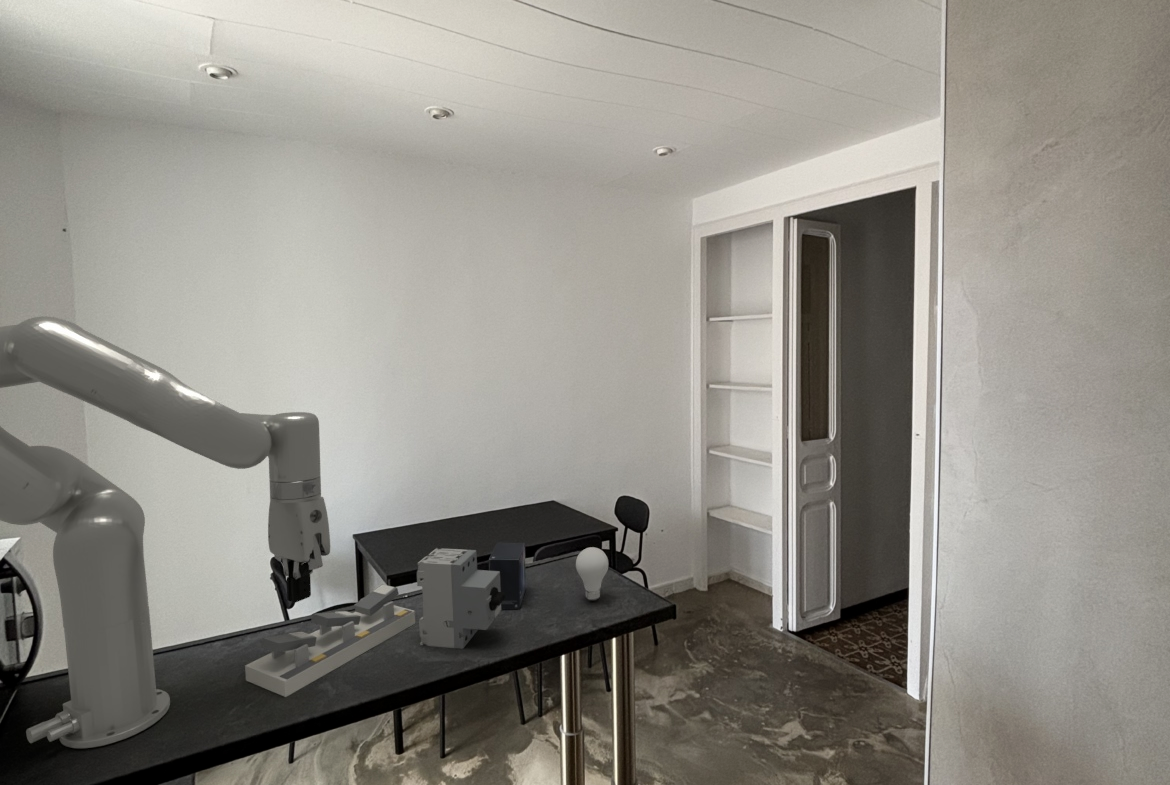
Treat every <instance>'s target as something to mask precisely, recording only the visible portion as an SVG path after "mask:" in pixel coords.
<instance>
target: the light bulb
mask: <svg viewBox="0 0 1170 785" xmlns="http://www.w3.org/2000/svg"><path fill="white" fill-rule="evenodd" d="M575 568H576V572H577V573H578V575H579V576H580V578H581V580H582V582H583V586H584V589H585V598H586V599H587V600H589V601H591V602H594V601H597V600H598V599H600V597H601V588H602V582H603V580H604V578H605V575H606V574H607V572H608V569H609V559H608V556H607V555H606V553H605V552H604V551H603V550H602V549H600V548H598V547H594V546H592V547H591V546H590V547H586V548H585V549H583V550H581V551H579V553H578V555H577V557H576V560H575Z"/></svg>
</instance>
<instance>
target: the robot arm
mask: <svg viewBox="0 0 1170 785" xmlns="http://www.w3.org/2000/svg"><path fill="white" fill-rule="evenodd" d="M33 383H35V384H36V383H41V384H43V385H46V386H49V387H51V388H53V389H55V390H57V391H60V392H62V393H63V394H67V395H69V396H71V397H74V398H76V399H78V400H81V401H83V402H85V403H88V404H90V405H92V406H95V407H96V408H98V409H100V410H103V411H105V412H108V413H109V414H112V415H114V416H116V417H118V418H120V419H123V420H124V421H127V422H129V424H132V425H133V426H136V427H139V428H141V429H143V430H145V431H149V432H150V433H152V434H155V435H157V436H159V437H161V438H163V439H165V440H167V441H170V442H171V443H173V444H175V445H178V446H180V447H182V448H184V449H186V450H188V451H190V452H193V453H195V454H197V455H199V456H202V457H205V458H207V459H208V460H210V461H213V462H216V463H218V464H221V465H223V466H225V467H228V468H232V469H237V470H239V469H241V470H244V469H249V468H253V467H256V466H258V465H260V464H261V463H262V462H263V461H264V460H266V458H267V457H268V475H269V476H268V478H269V508H268V519H267V520H268V522H267V528H268V529H267V541H268V549H269V552H270V553H271V554H273V556H274V559H275V560H277V561H278V562H280V563H281V564H282V566H283V567H282V568H283V575H284V576H285V577H286V599H287V601H288V602H292V603H294V604H295V603H298V602H300V601H303V600H305V599H308V598H310V597H311V595H312V588H311V582H312V581H311V575H312V574H313V573H314V572H313V571H314V570H317V569H319V568H323V566H324V563H323V558H322V556H323V557H324V556H325V557H326V556H329V555H330V553H331V533H330V524H329V517H328V511H327V510H328V509H327V505H326V502H325V498H324V497H323V496H322V485H321V484H322V483H321V481H322V479H321V446H320V445H321V442H320V421H319V418H318V417H317V415H316V414H314V413H311V412H307V411H306V412H304V411H303V412H302V411H296V412H295V411H292V412H283V413H282V412H281V413H276V414H262V413H261V414H259V413H243V412H241V413H240V412H239V411H237V410H234V409H233V408H230V407H228V406H226V405H225V404H222V403H220V402H218V401H216V400H214V399H212V398H210V397H208V396H206V395H204V394H203V393H200V392H199V391H197V390H196V389H194V388H193V387H190V386H188V385H187V384H186V383H184V382H182V381H181V380H180V379H178V378H177V377H176V376H175V375H173V374H172V373H170V372H169V371H167V370H166V369H164V368H162V367H160V366H158V365H156V364H155V363H152V362H150V361H149V360H146V359H144V358H142V357H140V356H138V355H136V354H134V353H132V352H129V351H127V350H125V349H124V348H121V347H120V346H118V345H116V344H113V343H111V342H109V341H107V340H105V339H103V338H101V337H100V336H97V335H95V334H93V333H92V332H88V331H87V330H85V329H84V328H82V327H81V326H79V325H77V324H76V323H73V322H72V321H70V320H66V319H62V318H60V317H59V318H58V317H54V316H45V315H44V316H34V317H31V318H27V319H26V320H24V321H23V320H22V321H21V322H20V323H18V324H12V325H5V326H2V325H1V326H0V389H4V388H9V387H14V386H15V387H17V386H22V385H28V384H33ZM0 522H4V523H7V524H10V525H17V526H18V525H19V526H28V525H33V524H34V525H35V524H38V523H40V524H42V525H44V526H45V527H46V528H48V529H50V530H51V531H53V532H55V533H56V536H55V538H54V542H53V548H52V561H53V567H54V572H55V577H56V578H55V579H56V582H57V587H58V592H59V594H58V595H59V599H60V600H59V601H60V608H61V616H62V626H63V631H64V642H65V651H66V652H65V653H66V662H67V670H68V682H69V692H70V700H68V701H66V702H64V703H62V709H63V711H61V712H57V713H56V714H55V717H53V718H50V719H49V720H46V721H42V722H40V723H38V724H35V725H33V726H30V727H29V728H27V729H26V731H25V733H26V739H27V741H28V742H29V743H30V744H33V743H35V742H37V741H39V740H41V739H43V738H47V740H48V741H49V742H53V741H55V740H58V739H59V741H60V743H61V744H62V745H63V746H65V747H68V748H72V749H89V748H90V749H92V748H98V747H103V746H106V745H110V744H114V743H117V742H120V741H122V740H126V739H128V738H130V737H133V736H135V735H137V734H139V733H141V732H143V731H145V730H146V729H148V728H150V727H151V726H153V725H154V724H156V723H157V722H158V721H160V720H161V718H163V717H164V716H165V715H166V714H167V712H168V711H169V709H170V707H171V706H170V705H171V698H170V694H169V693H168V692H167V691H165V690H162V689H159V688H157V684H156V676H155V675H156V674H155V673H156V672H155V659H154V651H153V650H154V649H153V636H152V627H151V617H150V616H151V615H150V606H149V595H148V587H147V586H148V585H147V576H146V575H147V574H146V567H145V566H146V564H145V557H144V556H145V554H144V534H145V522H146V518H145V513H144V511H143V508H142V507H141V504H139V502H138V501H137V500H136V499H135V498H134V497H132V496H131V495H130V494H128V493H127V492H126V491H125V490H123V489H121V487H119V486H117V485H116V484H114V483H113V482H112V481H110V480H109V479H107V478H106V477H105V476H103V475H102V474H100V473H99V472H97V470H95V469H93V468H92V467H90V466H89V465H87V464H86V463H85V462H84V461H82V460H80V459H79V458H77V456H74V455H72V454H71V453H69V452H67V451H65V450H62V449H60V448H57V447H54V446H49V445H31V446H30V445H28V444H27V443H25V442H23V441H22V440H21V439H19V438H17V437H16V436H14V435H12V433H10V432H9V431H7V430H6V429H4V428H3V427H2V426H1V425H0Z"/></svg>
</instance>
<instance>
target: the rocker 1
mask: <svg viewBox="0 0 1170 785" xmlns="http://www.w3.org/2000/svg"><path fill="white" fill-rule="evenodd" d="M310 634H311V633H308V632H304V631H296V632H288V633H287V634H285V633H284V634H280V635H278V634H277V635H272V636H266V637H262V638H261V644H260V648H263V649H265V650H267V651H269V652H270V651H271V652H272V651H273V652H276V653H279V652H284V651H290V650H295V649H297V648H299V647H301V646H303V645H305V644H307V645H308V647H313V646H315V644H316V638H317V637H315V636H313V635H310Z"/></svg>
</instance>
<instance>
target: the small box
mask: <svg viewBox="0 0 1170 785" xmlns="http://www.w3.org/2000/svg"><path fill="white" fill-rule="evenodd" d="M525 546H526V544H525V542H500V541H499V542H496V544H495V546H494V548H493V550H492V551H491V554H490V556H489V558H488V571H500V588H501V592H505V597H506V598H505V599H504V601H502V603H501V610H520V609H521V605H522V603H523V599H524V595H525V593H526V586H527V585H526V584H527V582H526V579H527V578H526V575H527V574H526V547H525Z"/></svg>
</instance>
